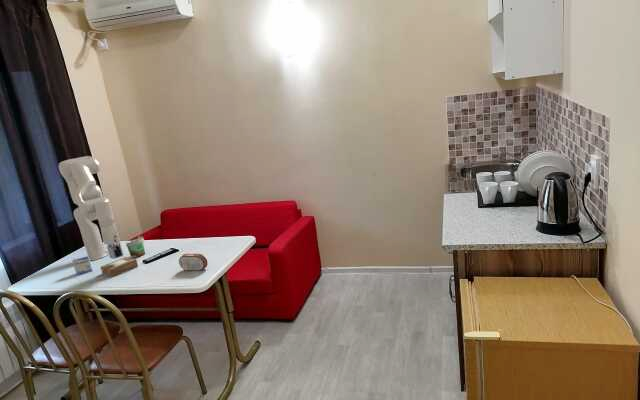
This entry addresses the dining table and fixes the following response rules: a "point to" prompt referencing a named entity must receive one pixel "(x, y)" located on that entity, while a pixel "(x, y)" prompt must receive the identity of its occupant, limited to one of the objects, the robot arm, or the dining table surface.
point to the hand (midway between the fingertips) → (116, 255)
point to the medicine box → (82, 264)
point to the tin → (193, 262)
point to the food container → (136, 247)
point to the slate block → (112, 253)
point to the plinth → (119, 266)
